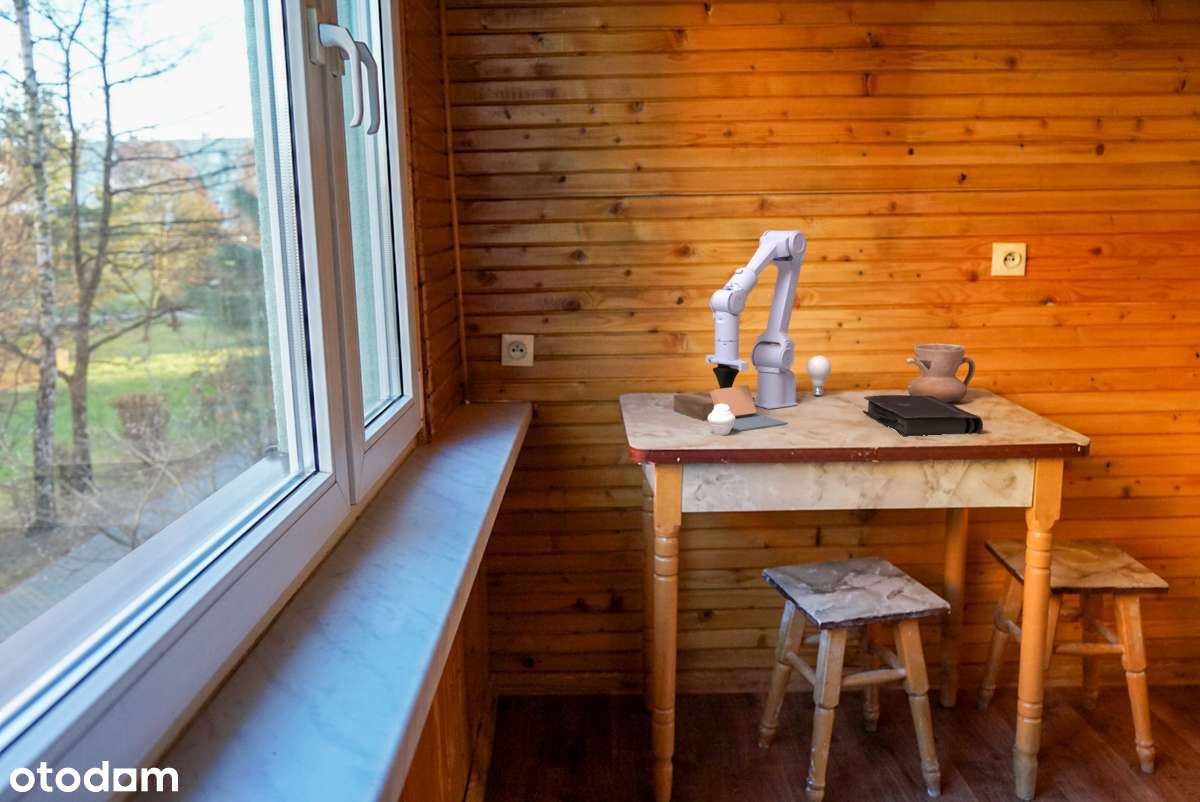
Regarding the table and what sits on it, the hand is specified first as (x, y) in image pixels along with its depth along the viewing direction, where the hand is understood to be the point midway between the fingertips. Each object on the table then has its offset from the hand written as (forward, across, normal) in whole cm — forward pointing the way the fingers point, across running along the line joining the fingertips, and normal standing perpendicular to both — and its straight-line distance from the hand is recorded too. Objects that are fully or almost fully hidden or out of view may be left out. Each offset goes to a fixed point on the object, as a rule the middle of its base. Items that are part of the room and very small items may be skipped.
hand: (725, 396), depth 225 cm
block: (+2, +2, 0) cm, 3 cm away
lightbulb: (+5, -8, +36) cm, 37 cm away
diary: (+6, +29, +34) cm, 45 cm away
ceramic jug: (+5, +13, +58) cm, 59 cm away
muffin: (+5, +14, -11) cm, 19 cm away
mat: (+5, +8, 0) cm, 10 cm away
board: (+5, -5, 0) cm, 7 cm away
